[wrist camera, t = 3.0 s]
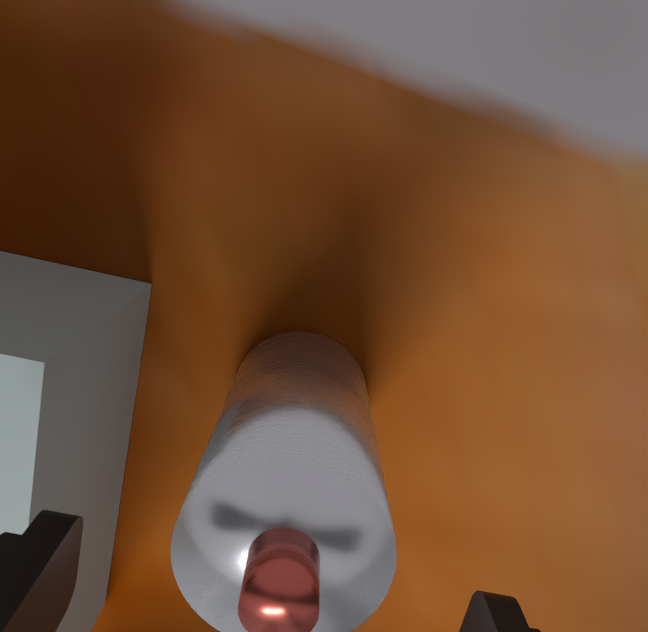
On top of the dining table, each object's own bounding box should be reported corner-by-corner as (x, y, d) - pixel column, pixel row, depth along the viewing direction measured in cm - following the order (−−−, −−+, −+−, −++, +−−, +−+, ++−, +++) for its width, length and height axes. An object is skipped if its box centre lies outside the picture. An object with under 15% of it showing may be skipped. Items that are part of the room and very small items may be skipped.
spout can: (381, 346, 21) (436, 527, 11) (349, 465, 22) (371, 727, 12) (247, 317, 20) (170, 475, 10) (222, 440, 22) (134, 686, 12)
